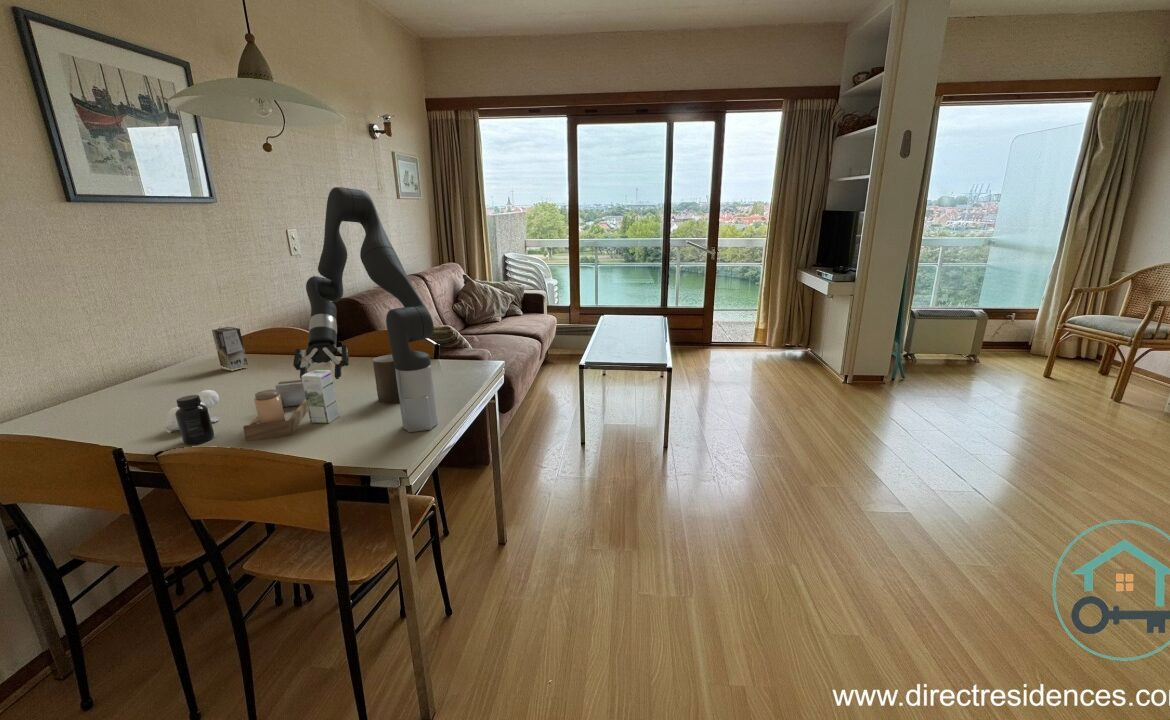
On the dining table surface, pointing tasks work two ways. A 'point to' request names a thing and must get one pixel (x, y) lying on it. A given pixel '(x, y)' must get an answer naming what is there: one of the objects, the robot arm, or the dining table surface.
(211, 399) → the white rounded figurine
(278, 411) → the jar
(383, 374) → the pillar candle
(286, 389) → the grey box
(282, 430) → the wooden tray
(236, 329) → the coffee box
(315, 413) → the syrup box
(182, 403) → the supplement bottle
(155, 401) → the dining table surface
